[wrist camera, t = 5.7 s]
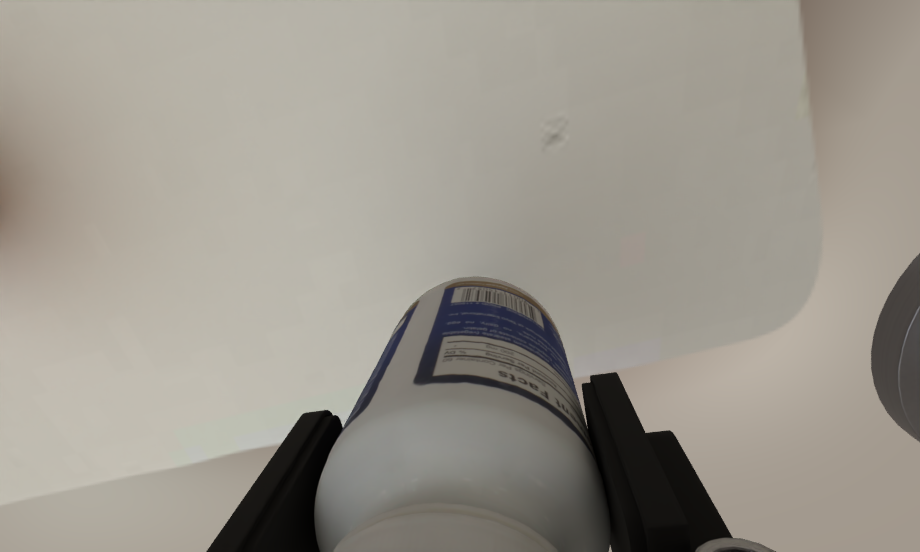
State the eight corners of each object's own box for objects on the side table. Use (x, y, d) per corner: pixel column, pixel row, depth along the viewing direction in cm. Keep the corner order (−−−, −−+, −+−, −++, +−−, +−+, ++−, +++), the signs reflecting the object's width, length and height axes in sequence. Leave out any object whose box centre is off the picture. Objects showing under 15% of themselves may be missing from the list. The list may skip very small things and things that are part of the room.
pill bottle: (451, 445, 16) (383, 878, 7) (364, 323, 15) (138, 641, 6) (592, 380, 15) (744, 799, 6) (509, 240, 14) (526, 476, 4)
